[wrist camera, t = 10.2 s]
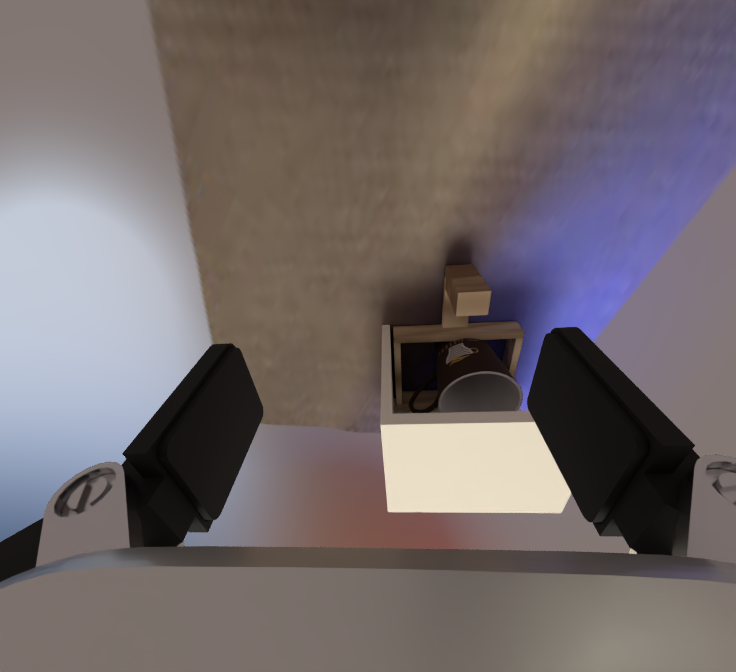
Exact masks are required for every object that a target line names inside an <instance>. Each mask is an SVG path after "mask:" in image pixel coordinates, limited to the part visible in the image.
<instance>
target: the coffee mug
mask: <svg viewBox="0 0 736 672" xmlns="http://www.w3.org/2000/svg"><path fill="white" fill-rule="evenodd" d="M436 366H437V369H436V371H435V373H433V374H432V375H431V376H430V377H429V378H428V379H427V380H426V381H425V382H424V383H423V384H422V385H421V386H420V387H419V388H418V389H417V390H416V391H415V393H414V394H413V395H412V397H411V399H410V401H409V408H410V410H411V412H412V413H430V412H432V411H433V410H434V409H436V408H437V407H438V408H439V412H440V413H452V412H499V411H518V409H519V408H520V406H521V403H522V400H523V393H522V390H521V387H520V386H519V384H518V383H517V381H516V380H515V379H514V377H513V376H512V375H511V373H510V372H509V371H508V369H507V368H506V367H505V365H504V364H503V363H502V361H501V360H500V359H499V357H498V356H497V355H496V354H495V352H494V351H493V350H492V348H491V347H490V346H489V344H488V343H487V342H486V340H479V339H474V338H464V339H459V340H456V341H441V342H437V345H436ZM436 377H437V390H438V395H437V397H436V400H435V401H434V403H433V404H432V405H431V406H429V407H427V408H425V409H422V410H419V409H415V408H414V406H413V405H414V401H415V399H416V398H417V396H418V395H419V393H420V392H421V391H422V390H423V389H424V388H425V387H426V386H427V385H428V384H429V383H431V382H432V381H433V380H434V379H435V378H436Z"/></svg>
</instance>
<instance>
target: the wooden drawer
mask: <svg viewBox="0 0 736 672" xmlns="http://www.w3.org/2000/svg"><path fill="white" fill-rule="evenodd" d="M490 298H491V290H490V288H489V287H488V285H487V284H486V282H485V281H484V279H483V278H482V276H481V275H480V273H479V272H478V271H477V269H476V268H475V266H474V265H473V264H467V265H451V266H445V277H444V294H443V311H442V324H441V325H419V326H396V327H393V336H394V360H395V383H396V407H397V408H409V401H410V399H411V397H412V395H413V394H414V393H415V391H402V382H401V347H400V343H416V342H441V341H456V340H459V339H464V338H474V339H479V340H491V339H506V344H505V349H504V354H503V359H502V363H503V364H504V365H505V367H506V368H507V369H508V371H509V372H510V373H511V375H512V376H513V377H514V376H515V372H516V368H517V364H518V359H519V355H520V351H521V347H522V342H523V338H524V334H525V332H524V331H523V329H522V328H521V326H520V325H519V324H518V322H517V321H508V322H486V323H468V319H469V316H475V315H488V311H489V304H490ZM437 395H438V390H432V391H421V392H420V393H419V395H418V396H417V398H416V399H415V401H414V405H413V406H414V408H427V407H429V406H431V405H432V404H433V403H434V401H435V400H436V397H437ZM437 408H438V407H437Z"/></svg>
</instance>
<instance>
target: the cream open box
mask: <svg viewBox="0 0 736 672" xmlns="http://www.w3.org/2000/svg"><path fill="white" fill-rule="evenodd" d="M415 409H419V410H422V409H425V408H415ZM381 436H382V448H383V459H384V471H385V482H386V494H387V506H388V512H478V513H483V512H484V513H485V512H486V513H488V512H489V513H561V512H562V510H563V508H564V506H565V504H566V503H567V500H568V498H569V497H570V495H571V491H570V489H569V487H568V485H567V483H566V482H565V480H564V478H563V476H562V474H561V472H560V470H559V468H558V466H557V464H556V462H555V460H554V458H553V456H552V454H551V452H550V451H549V449H548V447H547V445H546V443H545V441H544V439H543V437H542V435H541V433H540V431H539V429H538V427H537V425H536V423H535V421H534V420H533V418H532V416H531V414H530V412H529V411H521V410H520V408H519V409H518V411H499V412H452V413H440V412H439V408H436V409H434V410H433V411H432V412H430V413H412V412H411V410H410V408H397V407H396V398H393V378H392V358H391V338H390V325H382V362H381Z"/></svg>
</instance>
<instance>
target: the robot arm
mask: <svg viewBox="0 0 736 672" xmlns="http://www.w3.org/2000/svg"><path fill="white" fill-rule="evenodd" d="M527 405H528V409H529V412H530V414H531V416H532V418H533V420H534V421H535V423H536V425H537V427H538V429H539V431H540V433H541V435H542V437H543V439H544V441H545V443H546V445H547V447H548V449H549V451H550V452H551V454H552V456H553V458H554V460H555V462H556V464H557V466H558V468H559V470H560V472H561V474H562V476H563V478H564V480H565V482H566V483H567V485H568V487H569V489H570V491H571V493H572V495H573V497H574V499H575V501H576V503H577V505H578V507H579V509H580V511H581V513H582V514H583V516H584V517H585V519H586V520H587V521H589V522H593V524H594V526H595V528H596V530H597V532H598V533H599V535H600V536H623V537H624V539H625V540H626V542H627V544H628V545H629V547H630V552H629V554H626V553H625V554H624V553H599V552H597V553H596V552H569V551H566V552H565V551H516V550H513V551H512V550H463V549H462V550H460V549H399V548H398V549H397V548H395V549H394V548H325V547H324V548H323V547H320V548H319V547H218V546H217V547H216V546H214V547H213V546H205V547H204V546H203V547H202V546H199V547H185V546H184V541H183V540H184V538H185V536H186V534H187V532H188V531H189V532H208V531H209V529H210V527H211V524H212V522H213V520H215V519H217V518H218V517H219V516H220V514H221V512H222V509H223V507H224V505H225V503H226V500H227V498H228V496H229V493H230V491H231V488H232V486H233V484H234V482H235V480H236V477H237V475H238V473H239V470H240V468H241V466H242V463H243V461H244V459H245V456H246V454H247V452H248V449H249V447H250V445H251V443H252V440H253V438H254V436H255V433H256V431H257V428H258V426H259V424H260V422H261V419H262V417H263V406H262V403H261V401H260V398H259V396H258V393H257V391H256V388H255V386H254V383H253V380H252V378H251V375H250V373H249V370H248V368H247V365H246V363H245V360H244V358H243V355H242V353H241V350H240V349H239V348H236V347H235V346H234V345H233V344H231V343H230V344H214V345H212V346H210V347H209V349H208V350H207V351H206V352H205V354H204V355H203V356H202V357H201V358H200V360H199V361H198V362H197V364H196V365H195V366H194V367H193V368H192V369H191V371H190V372H189V373H188V374H187V376H186V377H185V378H184V379H183V381H182V382H181V383H180V384H179V385H178V386H177V388H176V389H175V390H174V391H173V393H172V394H171V395H170V396H169V398H168V399H167V400H166V401H165V402H164V404H163V405H162V406H161V407H160V408H159V410H158V411H157V412H156V413H155V414H154V416H153V417H152V418H151V420H150V421H149V422H148V423H147V424H146V426H145V427H144V428H143V429H142V430H141V432H140V433H139V434H138V435H137V437H136V438H135V439H134V440H133V442H132V443H131V444H130V445H129V446H128V447H127V449H126V450H125V451H124V452H123V455H124V456H125V457H126V461H125V462H124V463H123V464H122V465H120V464H118V463H117V462H105V463H100V464H97V465H94V466H92V467H89V468H87V469H85V470H83V471H82V472H80V473H78V474H77V475H75V476H74V477H72V478H71V479H70V480H68V481H67V482H66V483H64V484H63V485H62V486H61V488H60V489H59V490H58V491H57V492H56V493H55V494H54V495H53V497H52V498H51V499H50V501H49V502H48V504H47V507H46V510H45V513H44V518H42V519H41V520H39V521H37V522H35V523H33V524H32V525H30V526H28V527H26V528H25V529H23V530H21V531H19V532H17V533H16V534H14V535H12V536H11V537H9V538H7V539H5V540H3V541H2V542H0V672H736V458H734V457H731V456H723V455H717V454H715V455H705V456H703V457H701V458H700V457H699V456H698V455H697V454H696V453H695V452H694V451H693V447H694V446H695V445H694V444H693V443H692V442H691V441H690V440H689V439H688V438H687V437H686V436H685V435H684V434H683V433H682V432H681V431H680V430H679V429H678V428H677V427H676V426H675V425H674V424H673V423H672V422H671V421H670V420H669V419H668V418H667V416H665V415H664V413H663V412H662V411H661V410H660V409H659V408H658V407H657V406H656V405H655V404H654V403H653V402H652V401H651V400H650V399H649V398H648V397H647V396H646V395H645V394H644V393H643V392H642V391H641V390H640V389H639V388H638V387H637V386H635V384H634V383H633V382H632V381H631V380H630V379H629V378H628V377H627V376H626V375H625V374H624V373H623V372H622V371H621V370H620V369H619V368H618V367H617V366H616V365H615V364H614V363H613V362H612V361H611V360H610V359H609V358H608V357H607V356H606V355H605V354H604V353H603V352H602V351H601V350H600V349H599V348H598V347H597V346H596V345H595V344H594V343H593V342H592V341H591V340H590V339H589V338H588V337H587V336H586V335H585V334H584V333H583V332H582V331H581V330H580V329H579V328H578V327H566V328H554V329H553V330H552V331H551V333H548V334H546V335H545V338H544V341H543V345H542V348H541V352H540V355H539V359H538V363H537V366H536V370H535V374H534V377H533V381H532V385H531V388H530V392H529V395H528V400H527Z"/></svg>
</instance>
